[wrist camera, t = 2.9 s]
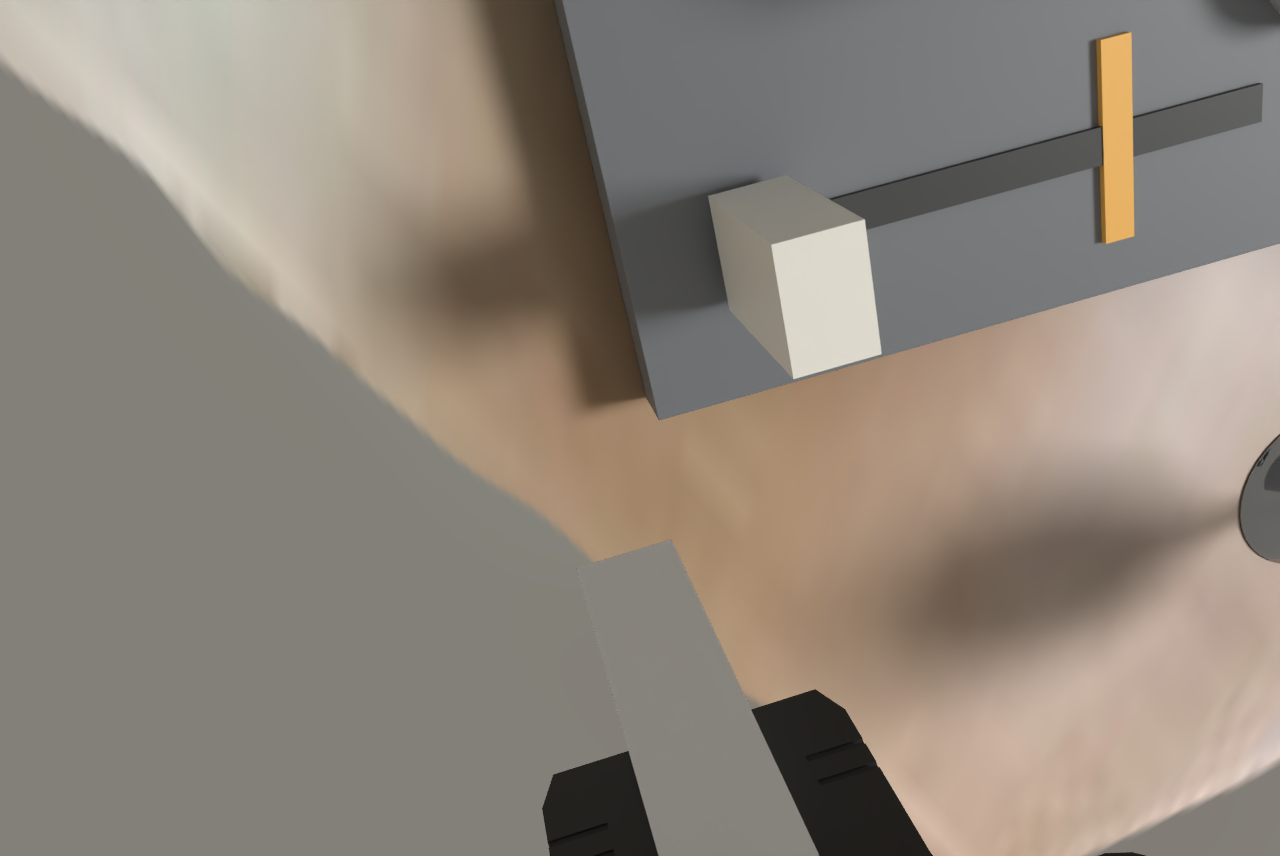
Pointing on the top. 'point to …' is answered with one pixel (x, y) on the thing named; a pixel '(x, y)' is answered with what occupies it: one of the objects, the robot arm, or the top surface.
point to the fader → (797, 274)
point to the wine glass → (1263, 505)
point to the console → (922, 154)
